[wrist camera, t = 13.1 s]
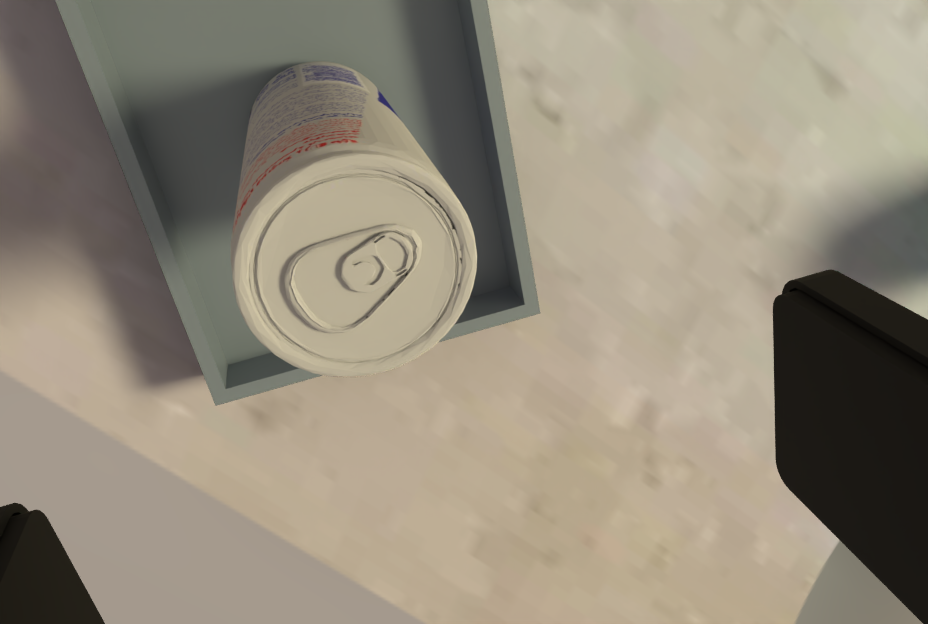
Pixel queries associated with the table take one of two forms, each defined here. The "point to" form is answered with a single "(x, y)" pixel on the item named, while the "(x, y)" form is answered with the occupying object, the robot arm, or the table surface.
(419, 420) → the table surface
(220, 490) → the table surface
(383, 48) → the tray
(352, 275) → the beverage can
